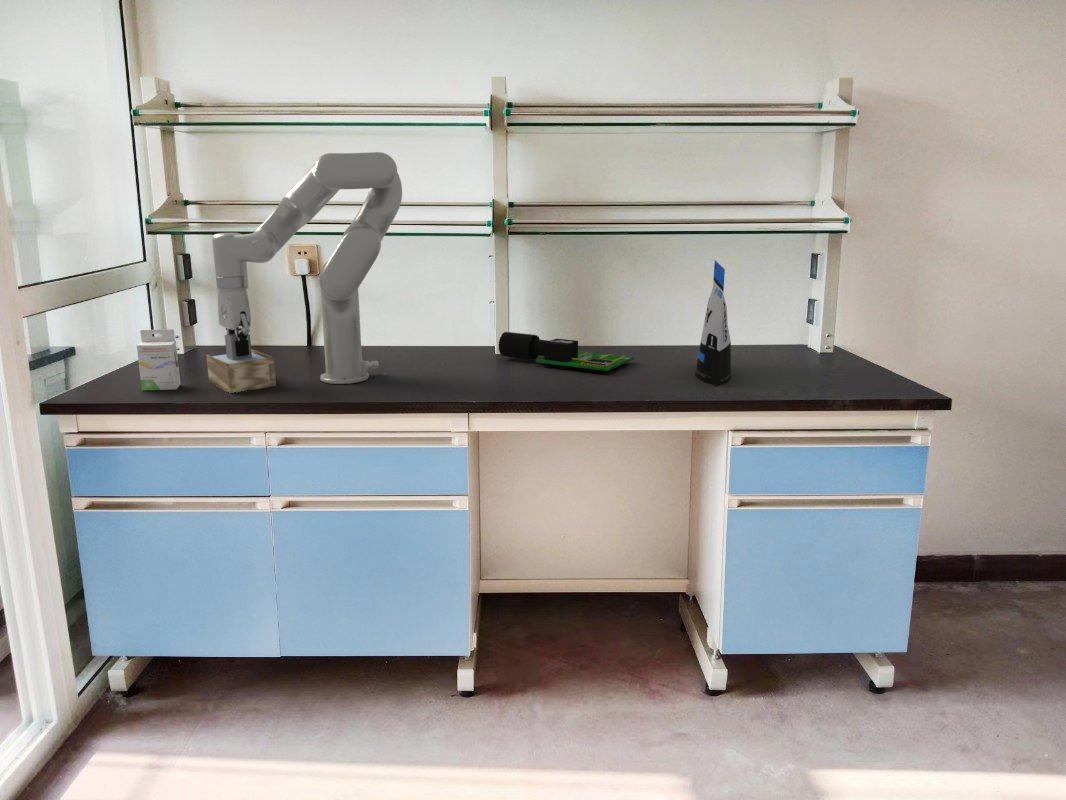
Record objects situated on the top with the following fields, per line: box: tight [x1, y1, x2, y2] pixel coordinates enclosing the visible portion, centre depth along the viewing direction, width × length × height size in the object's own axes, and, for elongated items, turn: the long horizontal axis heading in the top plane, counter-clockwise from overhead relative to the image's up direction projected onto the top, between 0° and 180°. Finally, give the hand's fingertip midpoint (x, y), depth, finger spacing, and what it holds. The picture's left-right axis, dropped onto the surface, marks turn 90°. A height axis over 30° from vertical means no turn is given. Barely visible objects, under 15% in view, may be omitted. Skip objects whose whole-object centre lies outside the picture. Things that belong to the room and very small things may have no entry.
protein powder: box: [694, 260, 732, 388], centre depth 220 cm, size 10×24×30 cm, turn 174°
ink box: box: [136, 328, 181, 391], centre depth 209 cm, size 9×5×15 cm, turn 101°
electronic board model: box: [498, 331, 635, 372], centre depth 238 cm, size 36×8×18 cm
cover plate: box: [212, 332, 265, 363], centre depth 212 cm, size 10×13×7 cm
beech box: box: [206, 348, 277, 394], centre depth 213 cm, size 12×14×8 cm
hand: (239, 353), depth 212 cm, fingers closed on cover plate, 4 cm apart
